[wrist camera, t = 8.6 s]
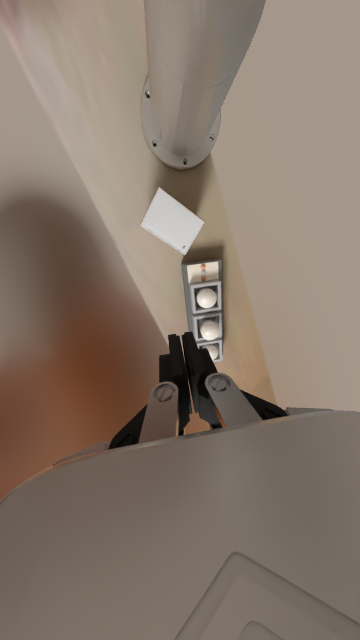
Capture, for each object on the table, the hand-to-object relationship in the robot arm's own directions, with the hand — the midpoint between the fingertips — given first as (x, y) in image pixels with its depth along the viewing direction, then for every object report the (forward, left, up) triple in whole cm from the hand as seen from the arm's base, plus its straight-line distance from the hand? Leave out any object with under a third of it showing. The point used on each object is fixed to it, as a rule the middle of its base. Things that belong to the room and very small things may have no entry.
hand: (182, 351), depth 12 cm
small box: (-9, +2, -29) cm, 31 cm away
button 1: (+19, +8, -26) cm, 33 cm away
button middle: (+12, +7, -24) cm, 28 cm away
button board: (+10, +8, -29) cm, 32 cm away
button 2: (+5, +7, -25) cm, 27 cm away
